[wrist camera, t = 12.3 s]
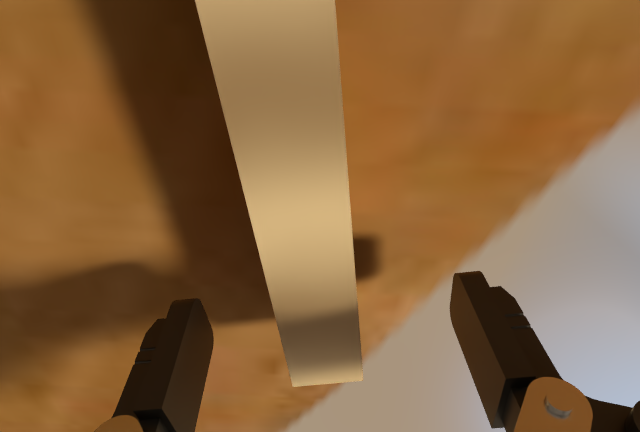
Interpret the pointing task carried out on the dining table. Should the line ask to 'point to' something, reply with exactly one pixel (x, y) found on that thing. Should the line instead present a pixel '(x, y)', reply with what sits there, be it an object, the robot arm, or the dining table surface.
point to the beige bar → (292, 171)
